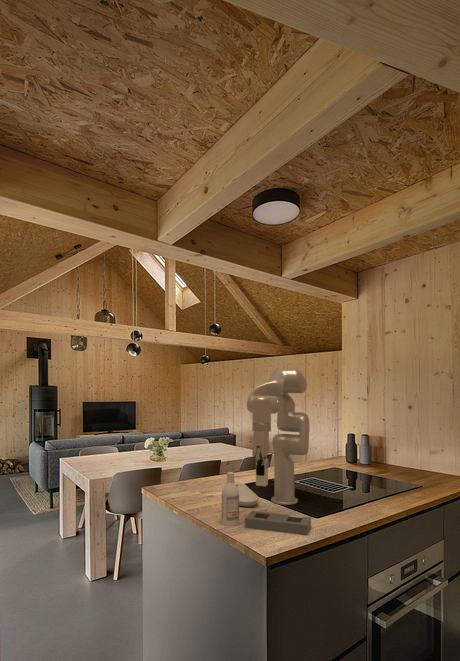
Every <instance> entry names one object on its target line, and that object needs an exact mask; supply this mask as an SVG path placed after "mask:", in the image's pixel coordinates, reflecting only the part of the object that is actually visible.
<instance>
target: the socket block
mask: <svg viewBox="0 0 460 661" xmlns="http://www.w3.org/2000/svg"><path fill="white" fill-rule="evenodd" d="M311 519H312V517H310V516H302V515H293V514H283V513H273V512H265V511H255V510H251V511H250V512H249V513H248V514H247V515H246V517H245V518H244V529H251V530H259V531H266V532H267V531H268V532H276V533H283V534H291V535H300V536H308V534H309V532H310V530H311V527H312V524H311V522H312V520H311Z"/></svg>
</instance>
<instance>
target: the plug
mask: <svg viewBox="0 0 460 661" xmlns="http://www.w3.org/2000/svg"><path fill="white" fill-rule="evenodd" d="M260 459H261V458H260ZM261 460H262V459H261ZM269 467H270V461H269V459H268V457H267V458H264V476H260V475H256V474H255V486H258V487H267V486H268V485H269Z"/></svg>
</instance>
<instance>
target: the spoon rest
mask: <svg viewBox="0 0 460 661" xmlns="http://www.w3.org/2000/svg"><path fill="white" fill-rule="evenodd" d="M236 486H237V488H238V491H239V507H243V508H244V507H245V508H249V507H253V506H255V505H256V504H257V503H258V502H259V496H258V495H257V494H256V493H255V492H254V491H253V490H252V489H251V488H249V487H248V485H246V484H245V483H236Z"/></svg>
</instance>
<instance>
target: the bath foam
mask: <svg viewBox="0 0 460 661" xmlns="http://www.w3.org/2000/svg"><path fill="white" fill-rule="evenodd" d="M236 485H237V483H235V472H232V471H228V472H227V473H226V483H225V484H224V486H223V488H222V490H221V525H223V526H225V527H236V526H238V525H239V524H240V505H239V491H238V488H237V486H236Z"/></svg>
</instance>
